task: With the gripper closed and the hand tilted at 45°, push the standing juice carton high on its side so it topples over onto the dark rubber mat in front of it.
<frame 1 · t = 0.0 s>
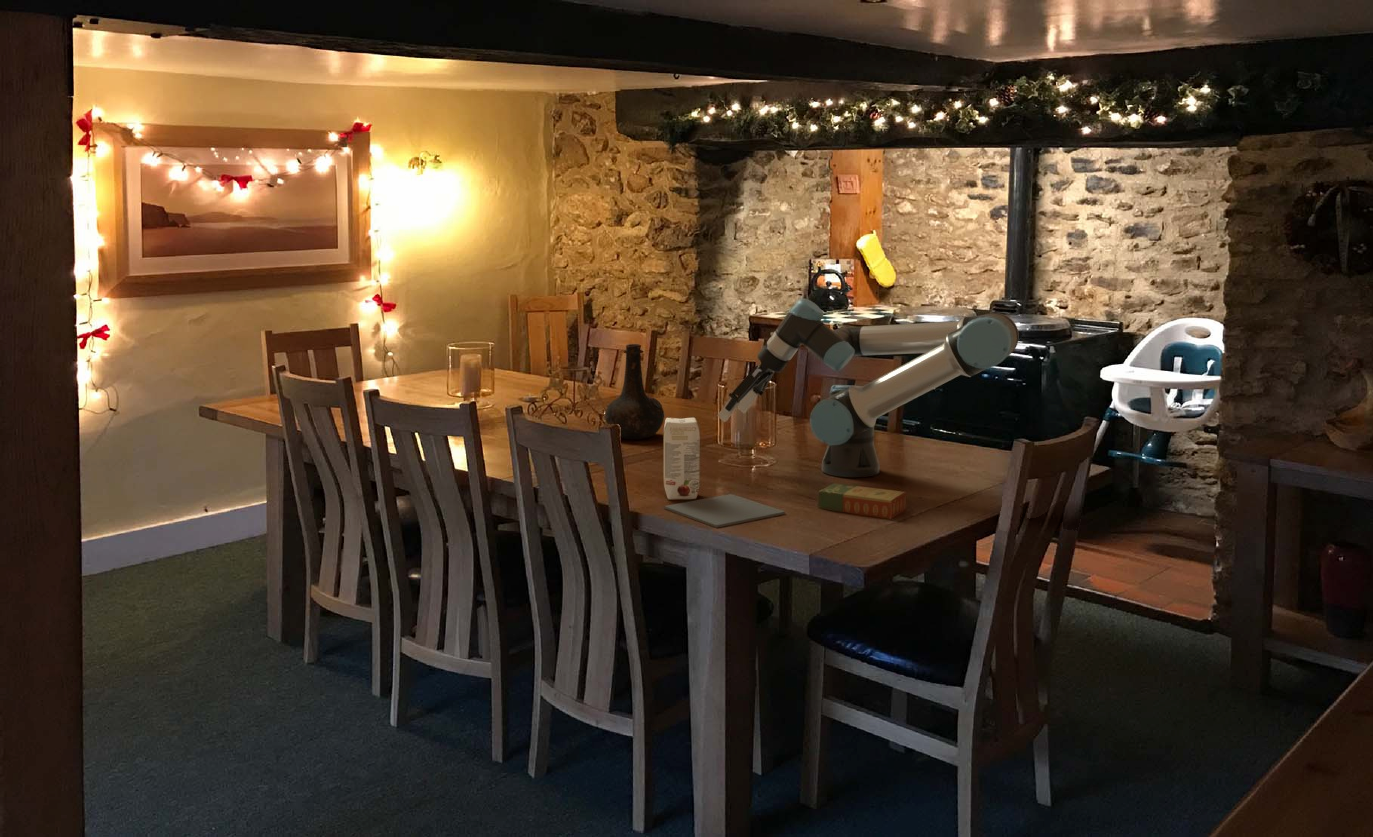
hand: (731, 414, 315), 15 cm above the table, fingers open, 13 cm apart
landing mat: (724, 511, 278), on the table
glass bottle: (634, 437, 362), on the table
carton: (861, 511, 281), on the table
juice carton: (681, 497, 292), on the table
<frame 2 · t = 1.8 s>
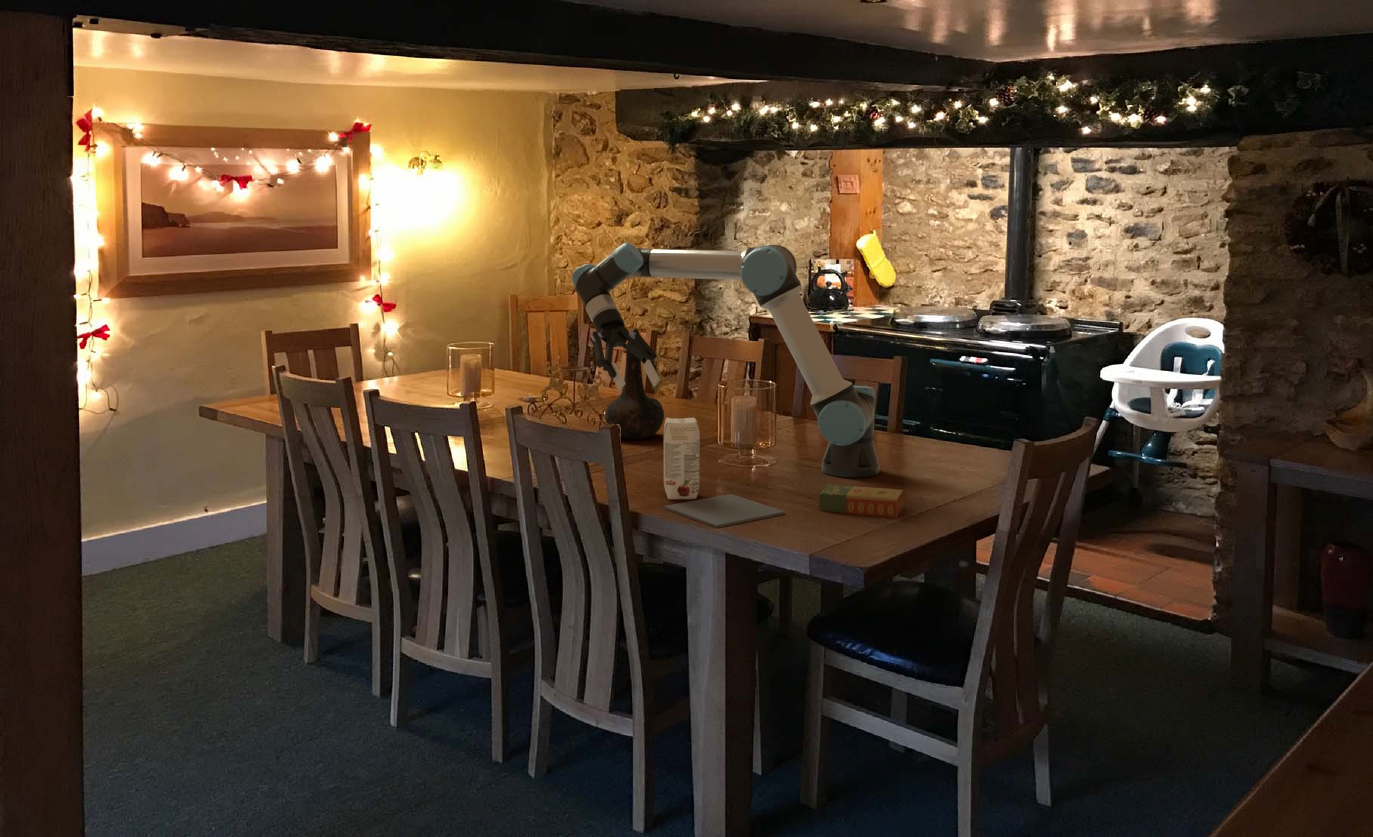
hand: (639, 384, 301), 25 cm above the table, fingers open, 10 cm apart
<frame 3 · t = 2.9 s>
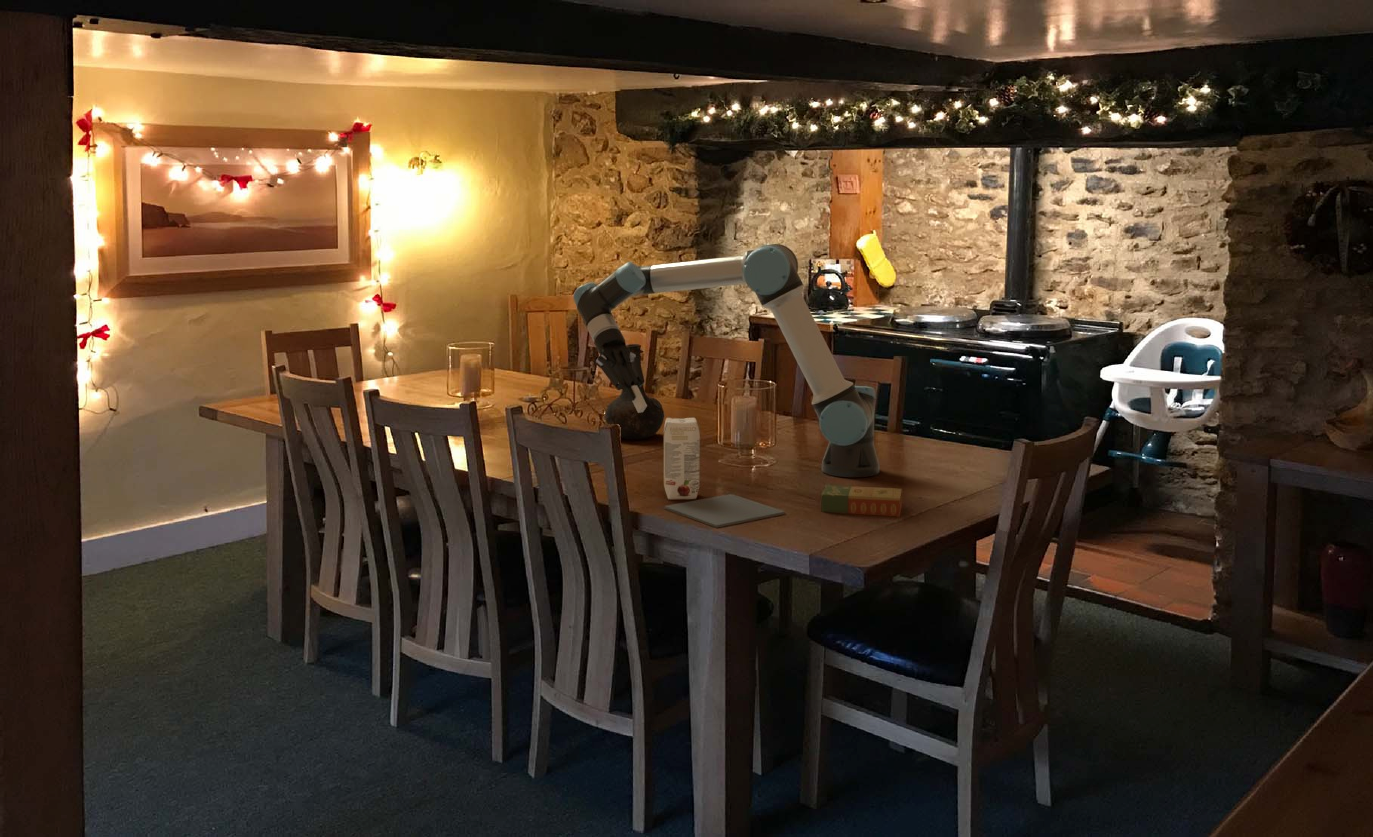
hand: (642, 409, 300), 19 cm above the table, fingers closed
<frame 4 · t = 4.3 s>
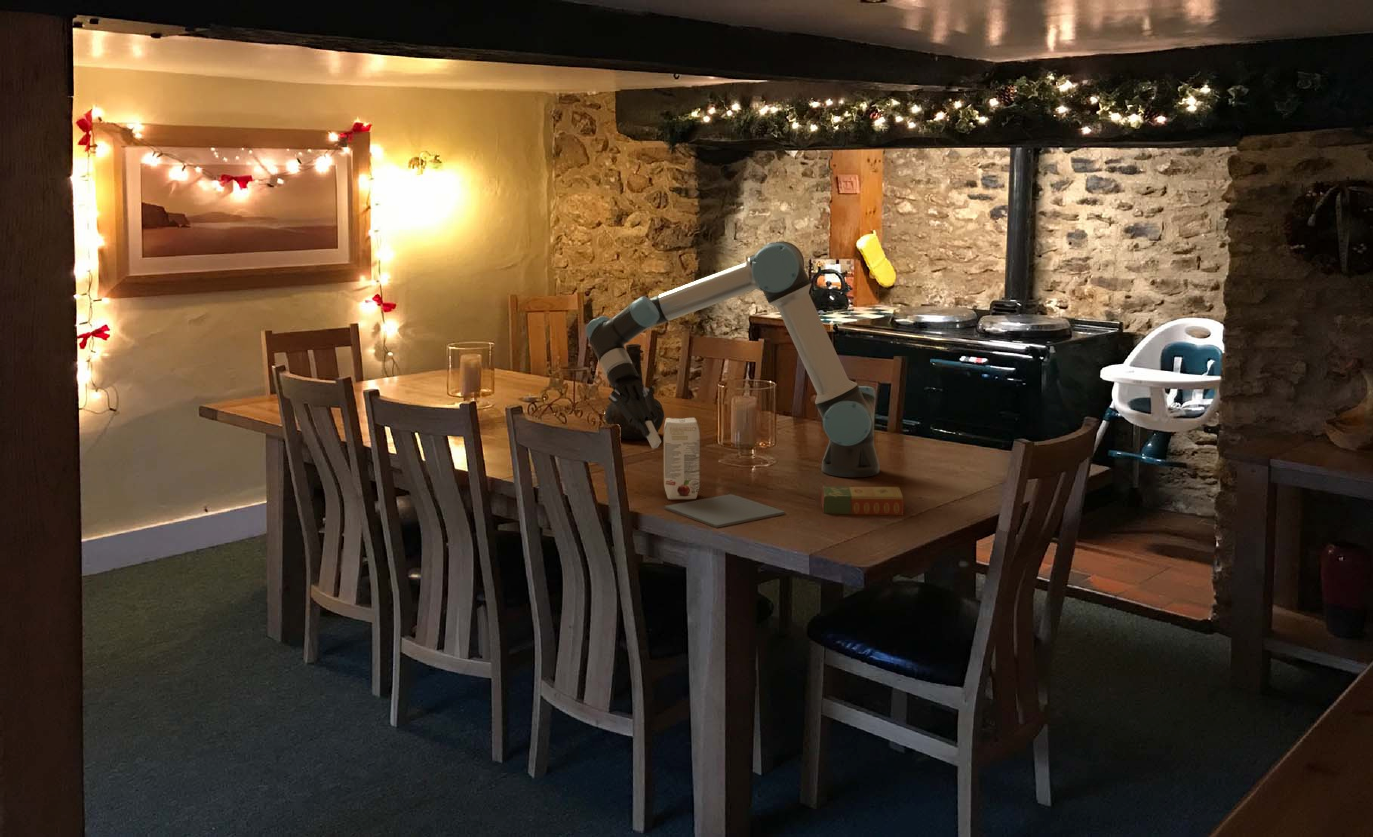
hand: (656, 445, 297), 11 cm above the table, fingers closed
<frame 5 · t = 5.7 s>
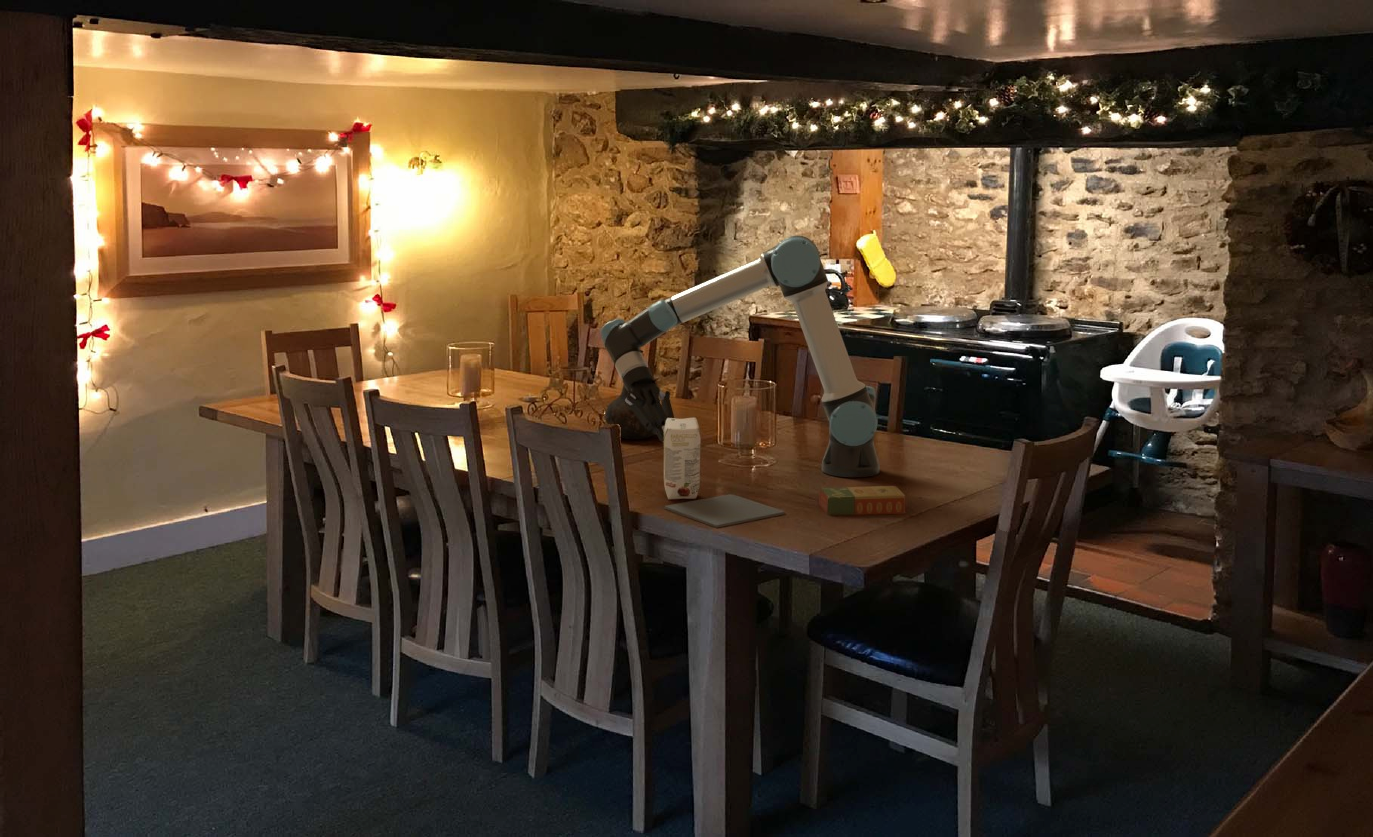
hand: (673, 450, 291), 11 cm above the table, fingers closed
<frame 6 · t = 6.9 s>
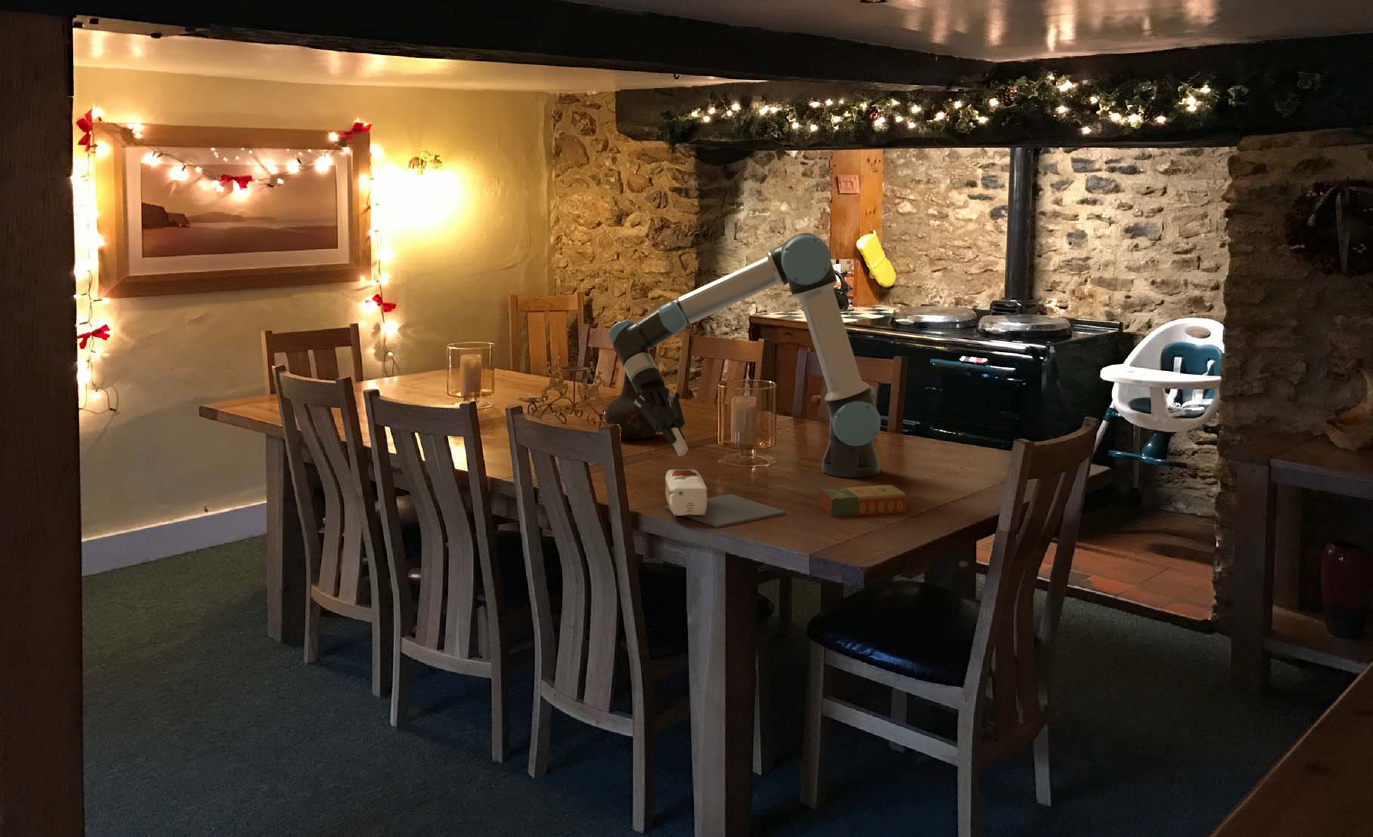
hand: (683, 452, 289), 11 cm above the table, fingers closed
juice carton: (681, 481, 288), point 4 cm above the table, touching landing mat
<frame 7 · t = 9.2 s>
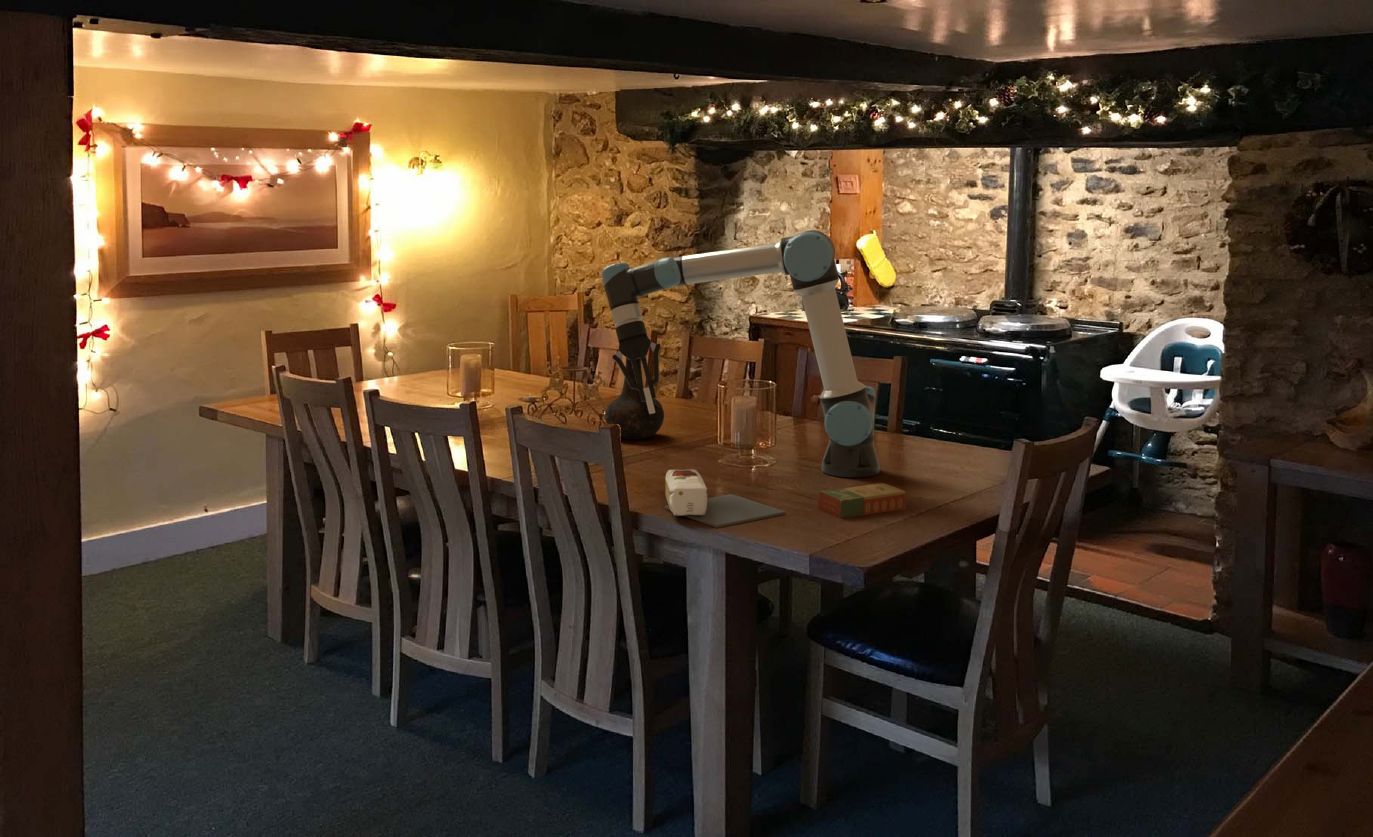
hand: (652, 412, 304), 18 cm above the table, fingers closed
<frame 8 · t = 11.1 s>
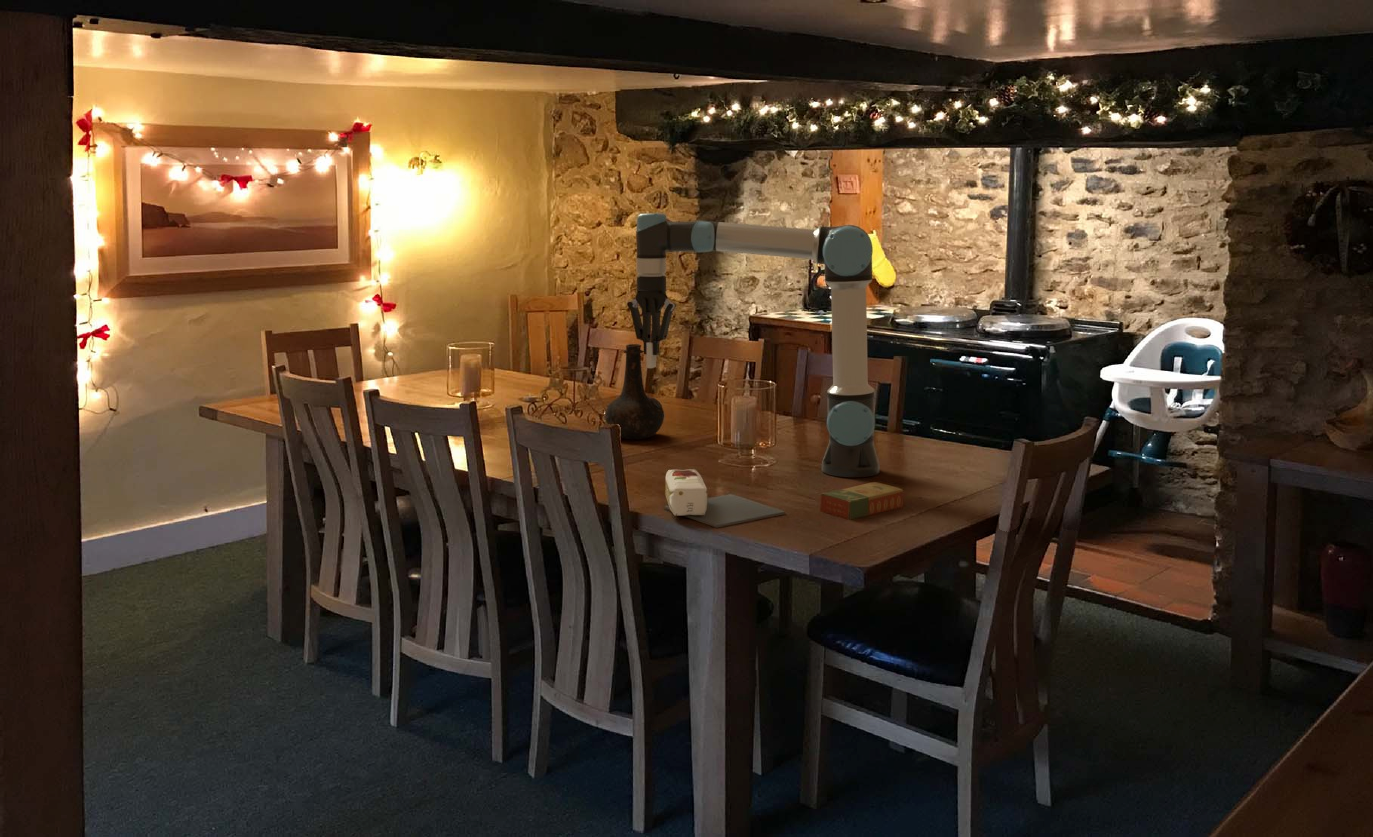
hand: (651, 367, 308), 28 cm above the table, fingers closed
at the end: juice carton tilted 90°; juice carton moved 5.4 cm from its start; juice carton touching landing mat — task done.
